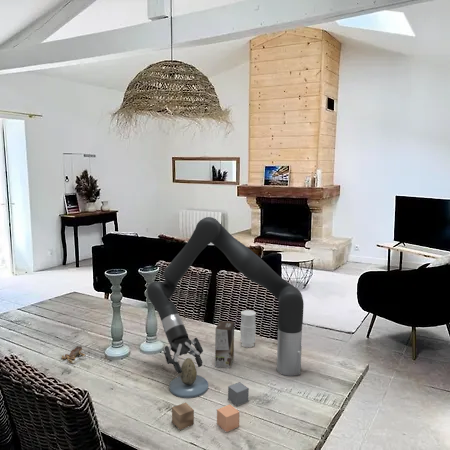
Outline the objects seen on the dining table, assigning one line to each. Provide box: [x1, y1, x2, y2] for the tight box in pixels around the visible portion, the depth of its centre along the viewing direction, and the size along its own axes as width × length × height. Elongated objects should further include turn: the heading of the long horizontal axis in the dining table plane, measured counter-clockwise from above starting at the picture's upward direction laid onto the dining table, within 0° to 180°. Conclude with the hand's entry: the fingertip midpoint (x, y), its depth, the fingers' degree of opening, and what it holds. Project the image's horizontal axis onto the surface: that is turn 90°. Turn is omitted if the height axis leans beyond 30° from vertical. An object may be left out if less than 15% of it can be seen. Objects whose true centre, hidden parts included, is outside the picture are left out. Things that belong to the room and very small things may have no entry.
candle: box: [239, 309, 257, 348], centre depth 187 cm, size 7×7×15 cm
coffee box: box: [214, 320, 235, 369], centre depth 170 cm, size 9×6×16 cm
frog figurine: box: [59, 345, 88, 366], centre depth 174 cm, size 12×12×4 cm
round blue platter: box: [169, 375, 209, 399], centre depth 152 cm, size 14×14×1 cm
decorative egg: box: [179, 357, 197, 385], centre depth 151 cm, size 6×6×10 cm
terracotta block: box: [216, 403, 240, 433], centre depth 130 cm, size 5×5×5 cm
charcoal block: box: [227, 381, 250, 407], centre depth 144 cm, size 5×5×5 cm
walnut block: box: [171, 402, 195, 431], centre depth 131 cm, size 5×5×5 cm
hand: (190, 369), depth 150 cm, fingers open, 8 cm apart
